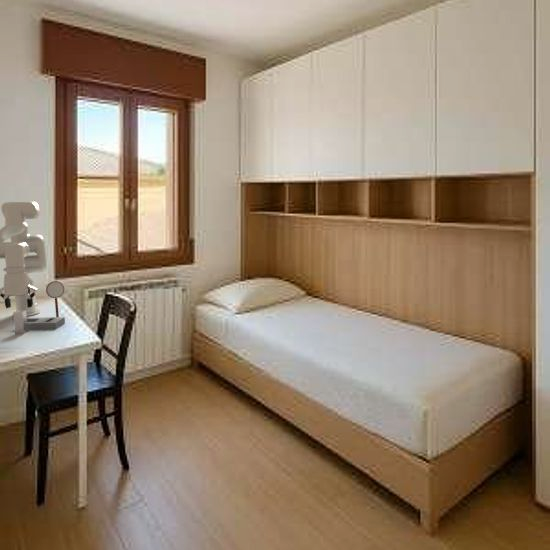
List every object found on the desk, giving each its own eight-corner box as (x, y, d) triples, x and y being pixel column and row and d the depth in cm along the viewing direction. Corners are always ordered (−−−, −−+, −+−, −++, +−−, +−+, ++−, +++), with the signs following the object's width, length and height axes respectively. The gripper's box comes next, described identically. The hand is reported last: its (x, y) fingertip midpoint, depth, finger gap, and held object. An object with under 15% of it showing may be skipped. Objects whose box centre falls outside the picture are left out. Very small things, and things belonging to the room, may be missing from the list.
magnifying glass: (49, 321, 246) (45, 282, 242) (48, 320, 247) (45, 281, 244) (67, 318, 251) (64, 280, 248) (66, 317, 252) (63, 280, 249)
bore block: (26, 323, 241) (25, 317, 240) (65, 322, 242) (64, 317, 241) (15, 329, 230) (14, 323, 230) (56, 328, 231) (55, 322, 230)
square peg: (19, 331, 227) (17, 310, 225) (28, 331, 227) (26, 310, 225) (15, 333, 223) (13, 312, 221) (24, 333, 223) (22, 312, 221)
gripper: (-8, 272, 216) (-5, 309, 218) (31, 271, 217) (34, 308, 219) (0, 269, 223) (4, 306, 226) (38, 269, 224) (41, 305, 226)
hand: (19, 307), depth 222 cm, fingers open, 9 cm apart
